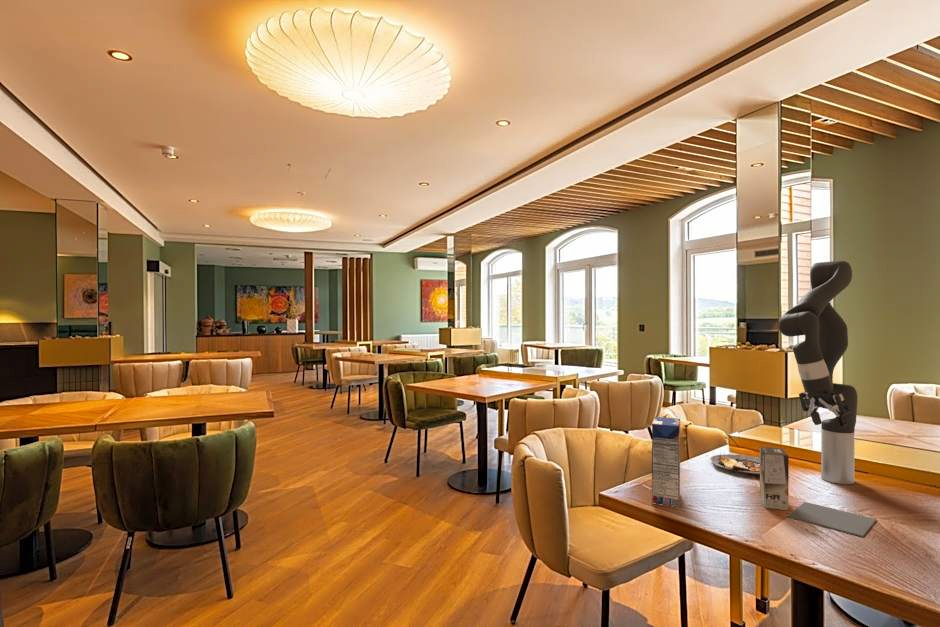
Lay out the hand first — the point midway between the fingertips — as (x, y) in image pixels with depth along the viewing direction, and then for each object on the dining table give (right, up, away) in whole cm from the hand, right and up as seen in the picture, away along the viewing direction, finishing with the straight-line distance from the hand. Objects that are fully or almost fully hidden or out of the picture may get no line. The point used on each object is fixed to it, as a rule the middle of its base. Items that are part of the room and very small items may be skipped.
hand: (830, 425), depth 155 cm
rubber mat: (-10, -23, -15) cm, 29 cm away
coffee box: (-20, -23, -4) cm, 31 cm away
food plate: (-9, -23, +31) cm, 40 cm away
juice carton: (-51, -23, -1) cm, 56 cm away
